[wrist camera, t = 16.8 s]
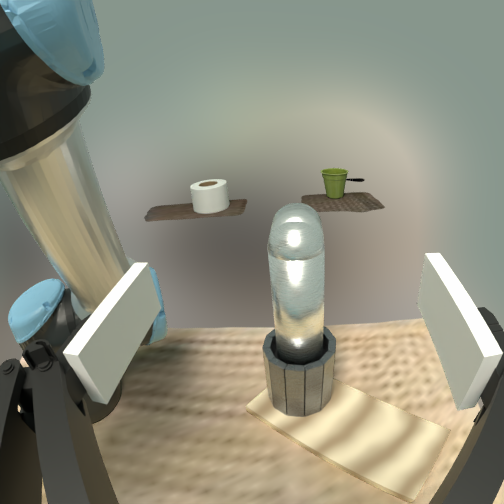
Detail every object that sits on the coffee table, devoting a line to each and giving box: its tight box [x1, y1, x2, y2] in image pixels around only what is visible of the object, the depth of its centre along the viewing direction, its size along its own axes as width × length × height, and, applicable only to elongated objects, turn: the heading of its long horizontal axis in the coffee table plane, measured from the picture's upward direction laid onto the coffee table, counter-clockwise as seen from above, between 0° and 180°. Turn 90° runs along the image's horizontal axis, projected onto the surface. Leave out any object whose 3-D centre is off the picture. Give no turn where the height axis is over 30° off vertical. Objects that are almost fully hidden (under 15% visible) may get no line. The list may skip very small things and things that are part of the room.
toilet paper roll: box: [190, 179, 230, 214], centre depth 137 cm, size 16×15×11 cm
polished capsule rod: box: [268, 203, 324, 365], centre depth 41 cm, size 9×6×21 cm
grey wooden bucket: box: [263, 326, 336, 417], centre depth 46 cm, size 10×10×11 cm
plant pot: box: [321, 168, 348, 199], centre depth 133 cm, size 12×12×11 cm
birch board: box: [246, 378, 451, 503], centre depth 42 cm, size 30×13×2 cm, turn 46°
